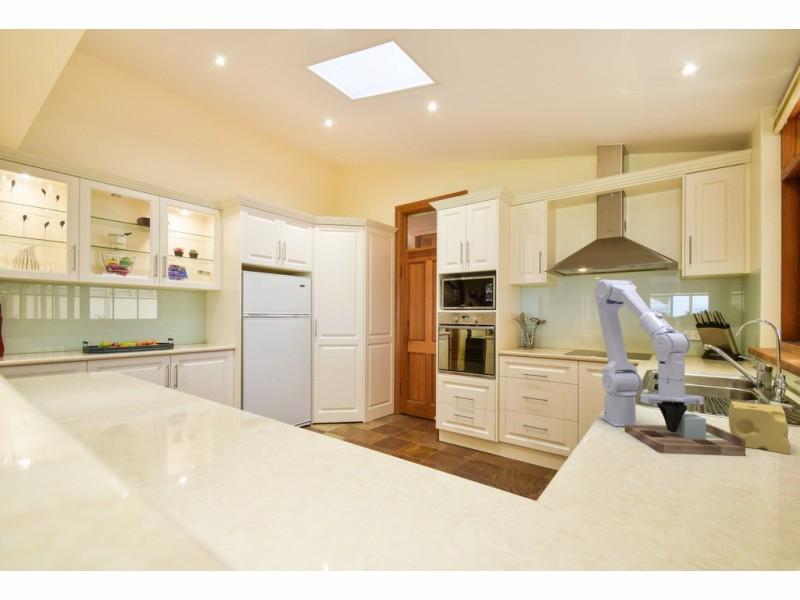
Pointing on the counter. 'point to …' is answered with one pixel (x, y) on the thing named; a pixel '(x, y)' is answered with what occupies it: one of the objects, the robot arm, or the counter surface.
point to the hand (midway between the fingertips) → (671, 431)
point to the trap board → (688, 440)
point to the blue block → (692, 426)
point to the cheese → (760, 426)
